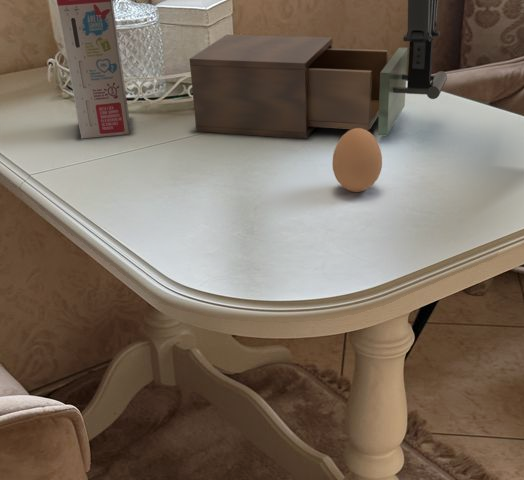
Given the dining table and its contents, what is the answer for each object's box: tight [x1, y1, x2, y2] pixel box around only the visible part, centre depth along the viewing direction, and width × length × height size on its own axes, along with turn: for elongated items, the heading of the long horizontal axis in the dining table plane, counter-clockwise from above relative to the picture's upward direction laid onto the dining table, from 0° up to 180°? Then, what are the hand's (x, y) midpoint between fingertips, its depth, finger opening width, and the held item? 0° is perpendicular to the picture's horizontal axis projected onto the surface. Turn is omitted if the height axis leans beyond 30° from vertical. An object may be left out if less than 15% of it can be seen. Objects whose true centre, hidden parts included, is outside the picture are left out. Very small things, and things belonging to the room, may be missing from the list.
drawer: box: [307, 47, 448, 136], centre depth 104 cm, size 20×12×8 cm, turn 71°
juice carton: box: [56, 0, 131, 139], centre depth 105 cm, size 7×7×22 cm
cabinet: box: [189, 34, 333, 140], centre depth 108 cm, size 16×14×10 cm
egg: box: [332, 128, 383, 193], centre depth 87 cm, size 5×5×7 cm
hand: (418, 92), depth 102 cm, fingers closed
